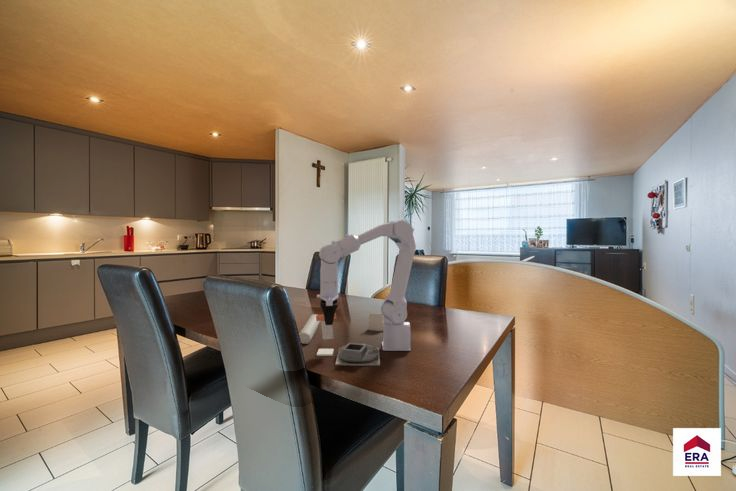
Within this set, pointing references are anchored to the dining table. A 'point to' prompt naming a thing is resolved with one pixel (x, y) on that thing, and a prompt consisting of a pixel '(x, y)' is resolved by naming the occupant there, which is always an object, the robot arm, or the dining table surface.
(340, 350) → the grey base plate
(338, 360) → the chuck base
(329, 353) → the felt pad
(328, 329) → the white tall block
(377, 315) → the grey square block
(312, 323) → the tube
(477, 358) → the dining table surface
